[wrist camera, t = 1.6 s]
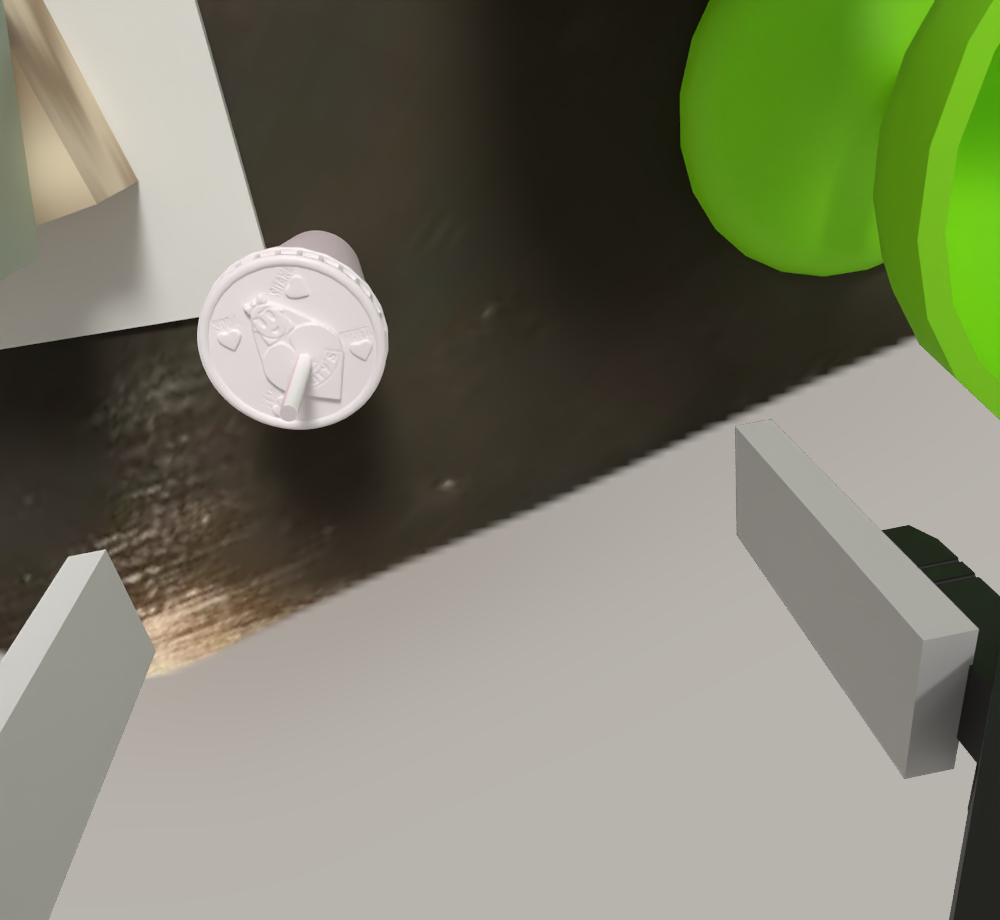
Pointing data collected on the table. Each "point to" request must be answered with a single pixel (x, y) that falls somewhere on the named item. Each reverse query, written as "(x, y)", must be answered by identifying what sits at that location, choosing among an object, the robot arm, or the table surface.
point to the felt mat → (140, 183)
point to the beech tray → (60, 120)
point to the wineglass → (860, 153)
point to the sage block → (13, 173)
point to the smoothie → (294, 333)
